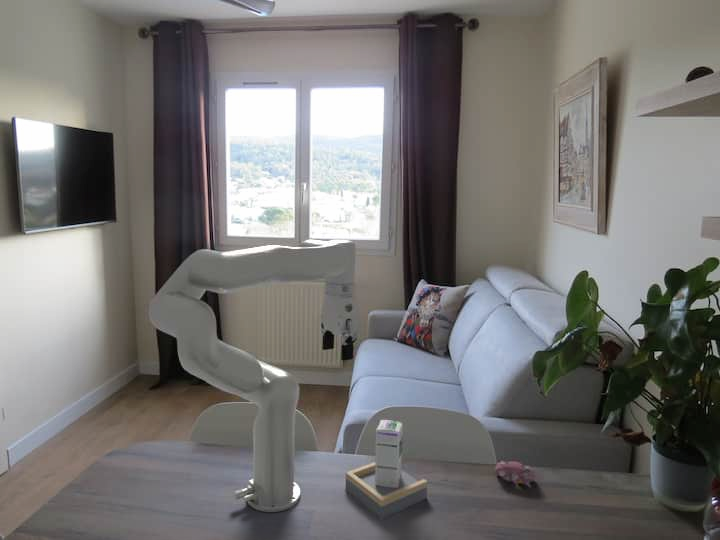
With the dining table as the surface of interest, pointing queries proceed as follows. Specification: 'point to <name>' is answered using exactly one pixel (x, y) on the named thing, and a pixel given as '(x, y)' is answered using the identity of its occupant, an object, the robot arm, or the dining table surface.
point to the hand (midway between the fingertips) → (337, 354)
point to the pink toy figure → (514, 471)
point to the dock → (384, 491)
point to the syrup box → (388, 453)
